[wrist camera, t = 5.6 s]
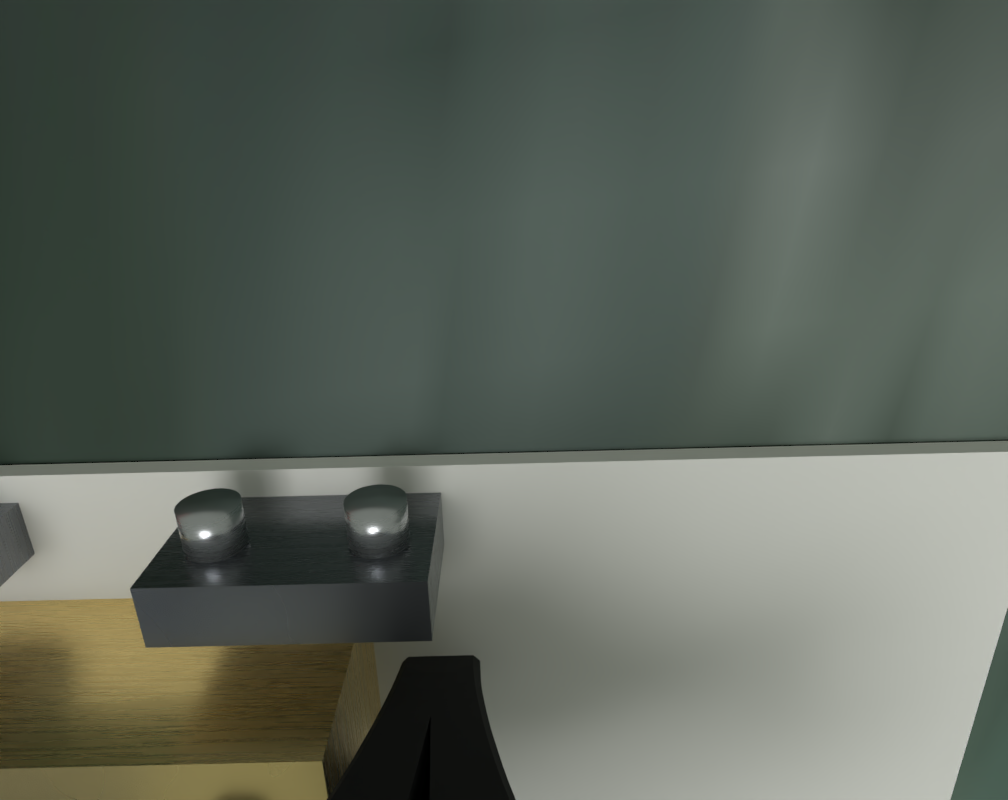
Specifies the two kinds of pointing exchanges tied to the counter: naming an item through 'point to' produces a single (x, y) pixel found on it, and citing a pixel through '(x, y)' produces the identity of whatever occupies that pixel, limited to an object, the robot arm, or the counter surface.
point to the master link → (171, 710)
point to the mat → (648, 602)
